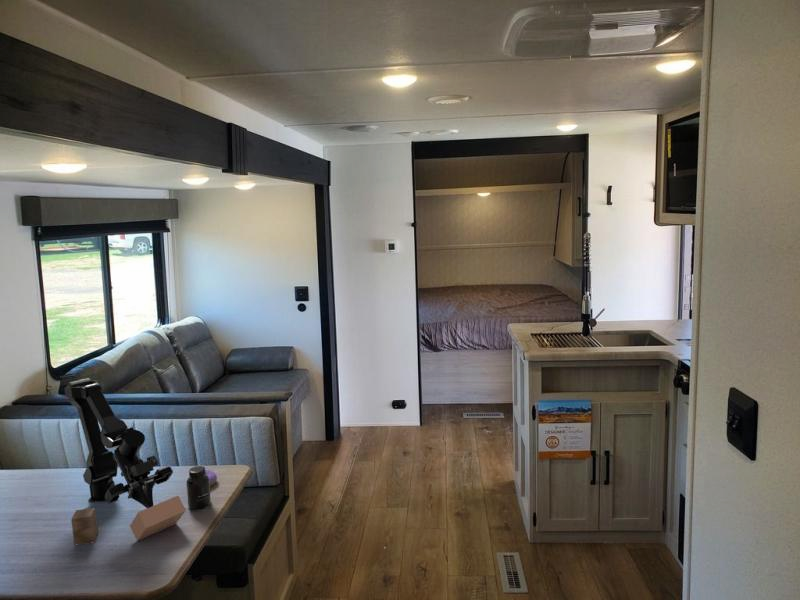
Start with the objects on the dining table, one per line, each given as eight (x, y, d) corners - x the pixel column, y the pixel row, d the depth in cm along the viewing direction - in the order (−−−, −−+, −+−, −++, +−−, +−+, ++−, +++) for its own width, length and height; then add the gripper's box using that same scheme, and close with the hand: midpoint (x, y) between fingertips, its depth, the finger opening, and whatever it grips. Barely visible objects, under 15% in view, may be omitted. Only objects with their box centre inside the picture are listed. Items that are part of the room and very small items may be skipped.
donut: (187, 479, 211) (188, 466, 211) (215, 480, 214) (217, 467, 214) (186, 492, 202) (188, 478, 201) (215, 493, 205) (217, 479, 204)
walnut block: (74, 545, 173) (71, 519, 172) (79, 536, 178) (76, 510, 177) (93, 542, 174) (90, 516, 173) (98, 533, 179) (95, 507, 178)
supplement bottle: (204, 511, 190) (201, 474, 188) (184, 509, 192) (180, 473, 189) (215, 500, 197) (212, 465, 195) (195, 498, 198) (192, 463, 196)
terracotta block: (129, 525, 176) (138, 512, 171) (168, 508, 185) (178, 495, 180) (137, 541, 175) (146, 528, 169) (176, 523, 184) (185, 510, 178)
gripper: (104, 461, 172) (127, 510, 167) (167, 439, 186) (190, 484, 181) (95, 479, 179) (117, 527, 173) (156, 457, 192) (178, 501, 187)
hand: (151, 509), depth 178 cm, fingers closed
